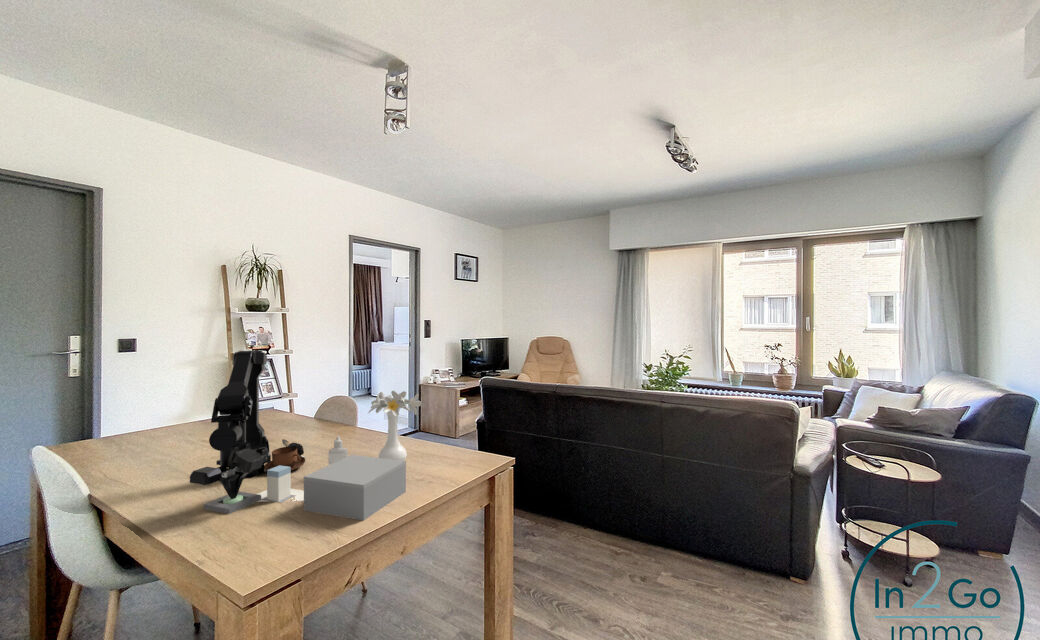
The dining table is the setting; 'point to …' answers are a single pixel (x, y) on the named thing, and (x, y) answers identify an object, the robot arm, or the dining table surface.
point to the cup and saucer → (285, 459)
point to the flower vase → (394, 421)
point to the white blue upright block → (278, 483)
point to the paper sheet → (294, 493)
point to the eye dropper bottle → (337, 452)
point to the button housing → (226, 508)
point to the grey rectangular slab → (354, 486)
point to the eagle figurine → (293, 445)
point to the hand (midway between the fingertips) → (233, 498)
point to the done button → (232, 500)
